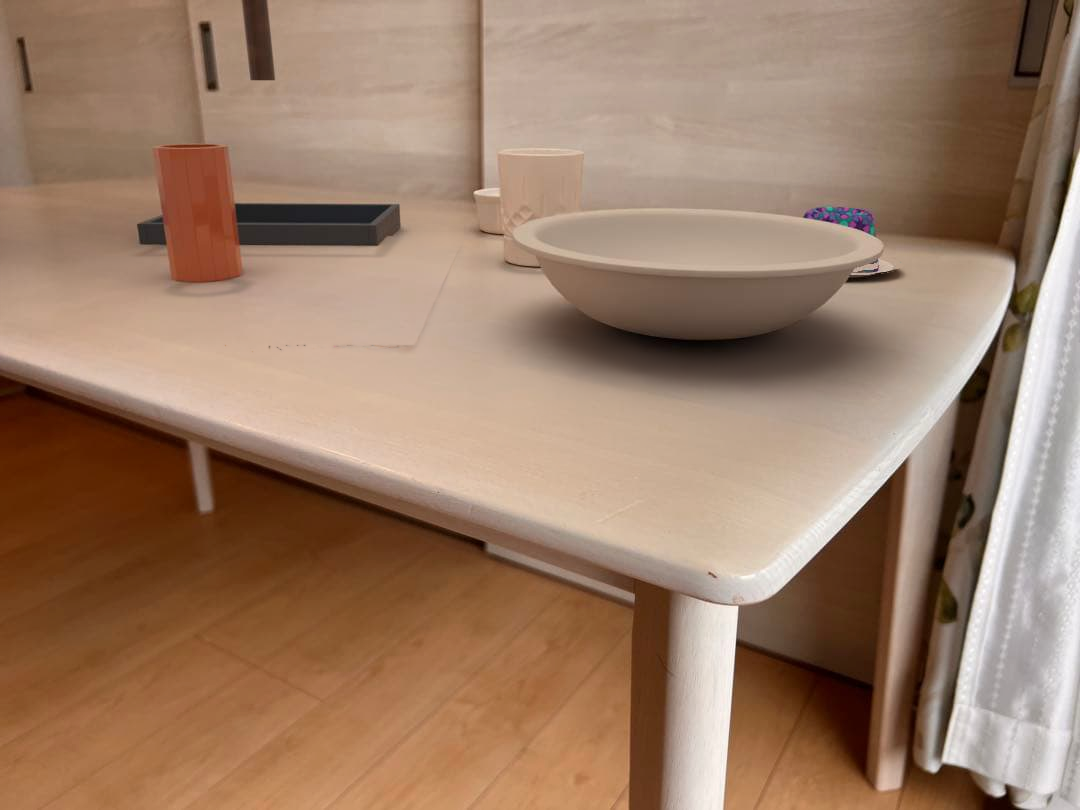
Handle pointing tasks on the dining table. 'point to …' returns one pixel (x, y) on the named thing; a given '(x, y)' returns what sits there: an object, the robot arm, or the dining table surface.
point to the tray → (300, 224)
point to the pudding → (850, 219)
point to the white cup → (536, 191)
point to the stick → (258, 39)
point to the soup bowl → (695, 267)
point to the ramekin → (489, 210)
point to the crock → (198, 211)
